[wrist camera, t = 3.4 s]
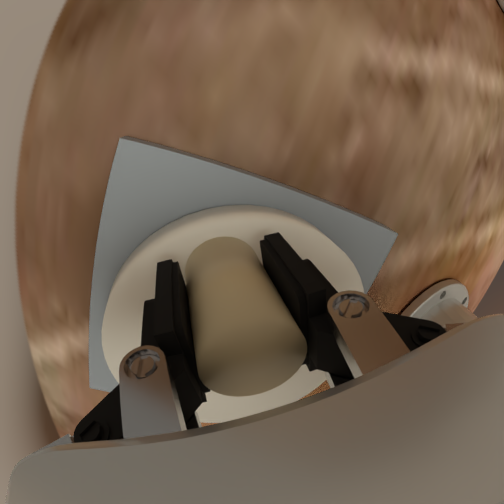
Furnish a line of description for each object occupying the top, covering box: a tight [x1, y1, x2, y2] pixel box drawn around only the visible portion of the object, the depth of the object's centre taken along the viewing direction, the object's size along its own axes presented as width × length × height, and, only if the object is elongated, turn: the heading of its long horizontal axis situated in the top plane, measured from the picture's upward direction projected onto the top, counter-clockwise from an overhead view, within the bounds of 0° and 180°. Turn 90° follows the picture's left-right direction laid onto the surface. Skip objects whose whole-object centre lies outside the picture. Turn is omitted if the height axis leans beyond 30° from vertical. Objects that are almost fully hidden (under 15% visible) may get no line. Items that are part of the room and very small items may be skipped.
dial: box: [101, 205, 364, 423], centre depth 13 cm, size 14×14×7 cm
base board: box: [89, 136, 398, 392], centre depth 17 cm, size 16×16×2 cm
